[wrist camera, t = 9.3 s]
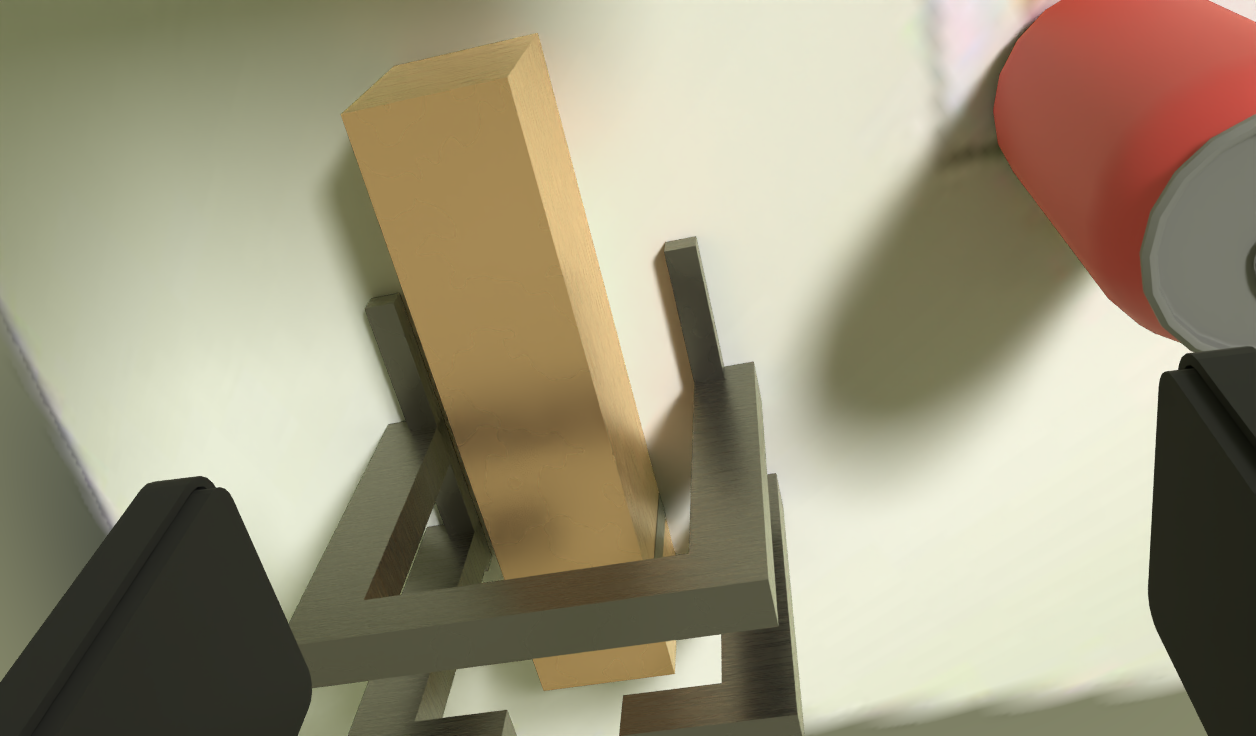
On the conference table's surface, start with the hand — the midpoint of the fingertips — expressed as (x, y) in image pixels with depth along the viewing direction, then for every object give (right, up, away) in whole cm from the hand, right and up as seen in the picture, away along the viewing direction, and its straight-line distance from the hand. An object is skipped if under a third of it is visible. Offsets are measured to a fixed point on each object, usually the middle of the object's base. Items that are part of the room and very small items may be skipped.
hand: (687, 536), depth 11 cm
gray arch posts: (-3, 0, +28) cm, 28 cm away
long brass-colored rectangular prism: (-3, +2, +26) cm, 27 cm away
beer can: (+13, +10, +22) cm, 27 cm away
